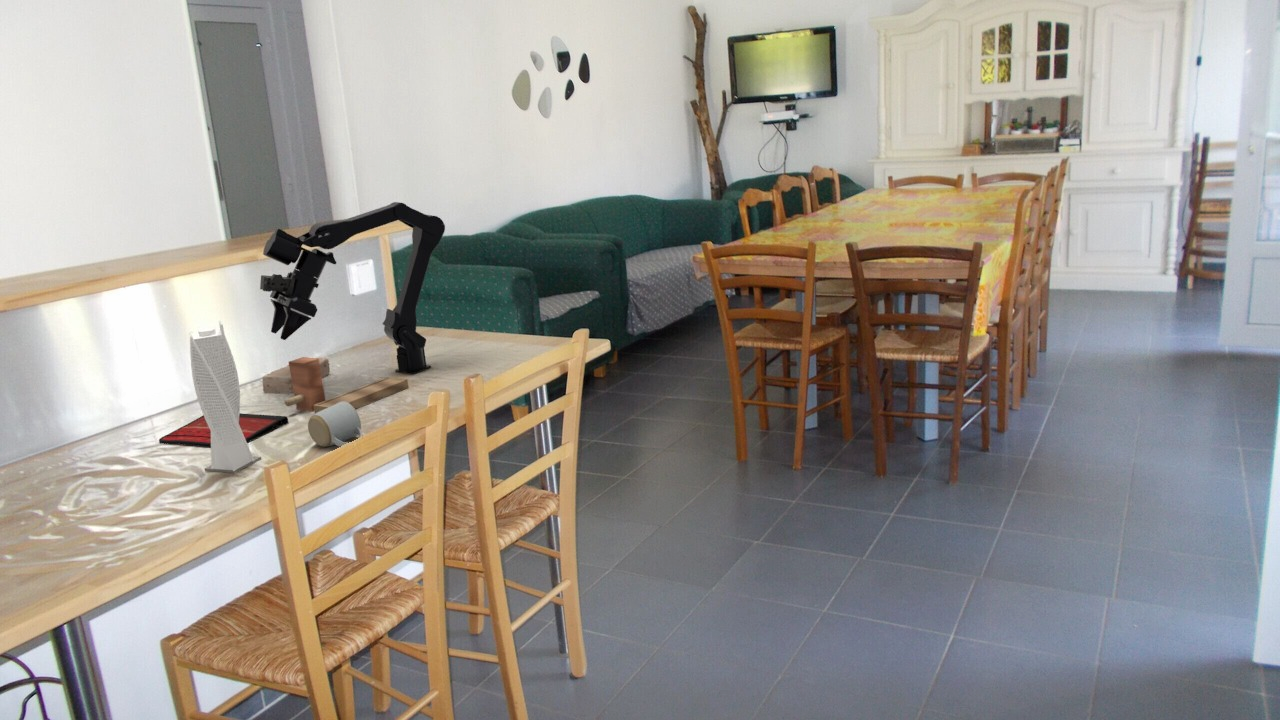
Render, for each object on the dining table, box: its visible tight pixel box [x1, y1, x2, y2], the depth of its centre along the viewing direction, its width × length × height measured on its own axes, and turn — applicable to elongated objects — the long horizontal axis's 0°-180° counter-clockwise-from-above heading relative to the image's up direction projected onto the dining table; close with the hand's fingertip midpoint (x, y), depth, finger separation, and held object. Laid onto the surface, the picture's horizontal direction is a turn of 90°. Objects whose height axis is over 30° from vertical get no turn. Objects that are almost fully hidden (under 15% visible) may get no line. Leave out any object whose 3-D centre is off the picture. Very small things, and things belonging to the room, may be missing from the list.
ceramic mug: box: [307, 401, 364, 448], centre depth 183 cm, size 10×8×7 cm
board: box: [313, 376, 409, 414], centre depth 211 cm, size 22×6×2 cm, turn 149°
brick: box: [262, 357, 331, 395], centre depth 229 cm, size 17×8×5 cm, turn 164°
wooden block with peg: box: [284, 356, 327, 413], centre depth 205 cm, size 8×5×11 cm, turn 149°
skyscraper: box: [188, 319, 262, 474], centre depth 172 cm, size 8×8×28 cm
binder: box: [158, 413, 289, 447], centre depth 195 cm, size 16×2×21 cm
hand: (277, 336), depth 214 cm, fingers open, 9 cm apart
